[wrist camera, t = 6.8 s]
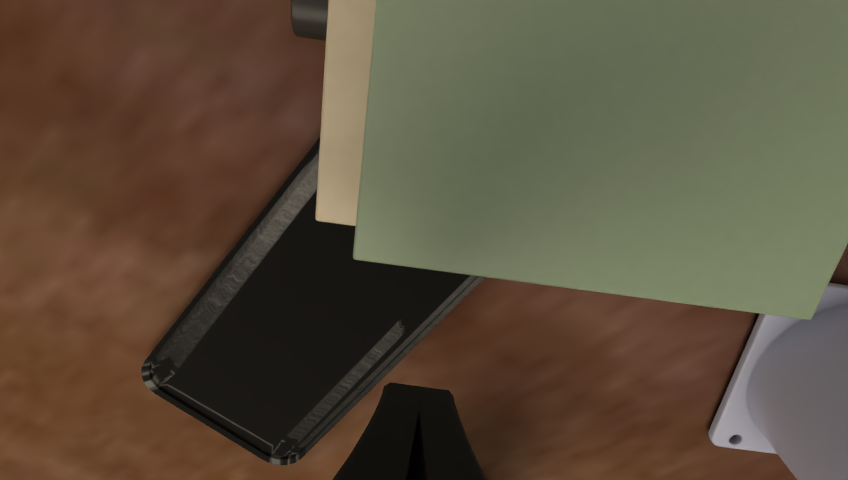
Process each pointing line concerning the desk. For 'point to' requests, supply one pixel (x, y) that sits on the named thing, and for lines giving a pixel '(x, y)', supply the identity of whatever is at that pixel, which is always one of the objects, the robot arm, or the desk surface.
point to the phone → (294, 328)
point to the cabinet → (612, 146)
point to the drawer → (340, 97)
